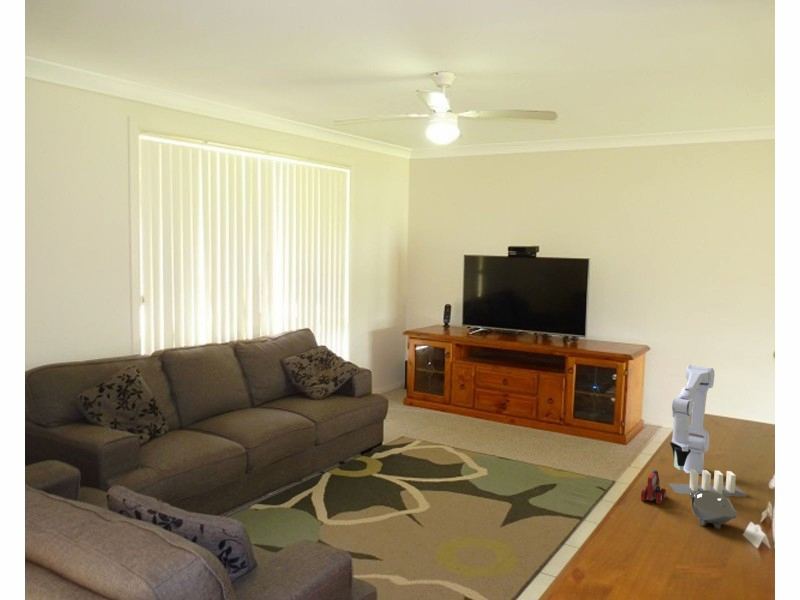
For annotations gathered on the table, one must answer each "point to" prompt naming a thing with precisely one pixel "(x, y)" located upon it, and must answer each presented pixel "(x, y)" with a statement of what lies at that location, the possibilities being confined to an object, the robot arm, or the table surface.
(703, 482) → the tile
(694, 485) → the tile
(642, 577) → the table surface
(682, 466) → the pale green tile
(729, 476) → the tile
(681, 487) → the runner mat
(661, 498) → the toy fire truck
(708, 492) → the piggy bank
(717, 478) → the tile
